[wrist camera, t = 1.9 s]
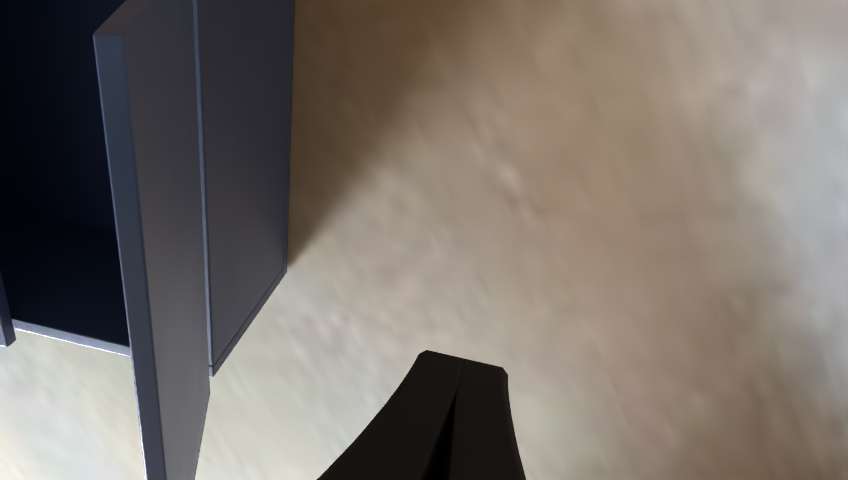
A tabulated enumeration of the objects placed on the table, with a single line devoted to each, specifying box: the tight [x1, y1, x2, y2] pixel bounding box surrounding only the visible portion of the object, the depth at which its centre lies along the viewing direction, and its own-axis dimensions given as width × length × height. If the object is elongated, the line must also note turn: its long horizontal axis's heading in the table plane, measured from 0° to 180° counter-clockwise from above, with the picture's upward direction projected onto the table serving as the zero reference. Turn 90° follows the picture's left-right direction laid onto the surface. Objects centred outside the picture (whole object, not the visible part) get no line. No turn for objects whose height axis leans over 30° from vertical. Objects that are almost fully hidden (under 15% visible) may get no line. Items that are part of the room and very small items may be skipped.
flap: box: [93, 0, 210, 480], centre depth 13 cm, size 5×11×1 cm
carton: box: [0, 0, 295, 377], centre depth 18 cm, size 11×11×6 cm
